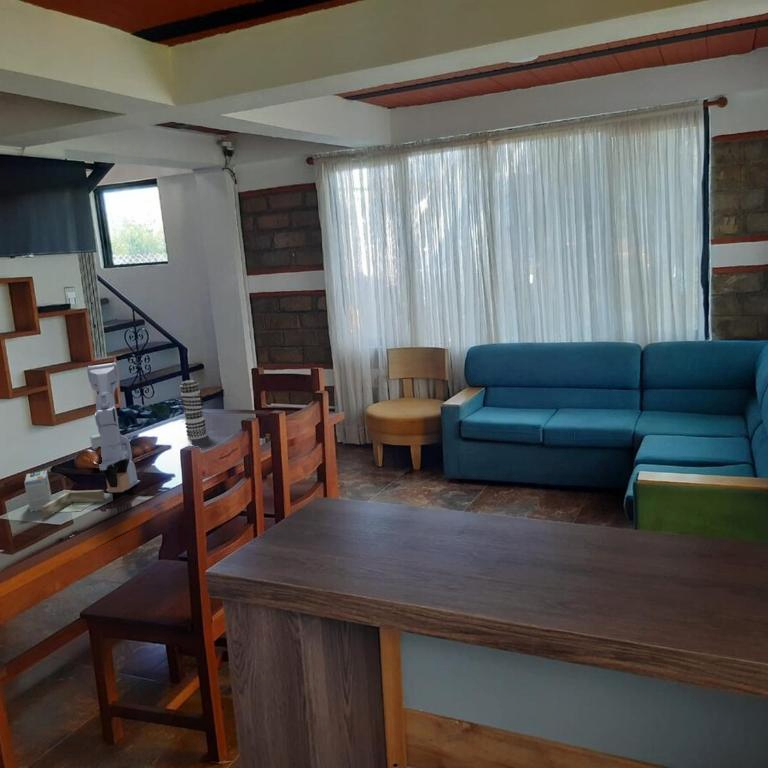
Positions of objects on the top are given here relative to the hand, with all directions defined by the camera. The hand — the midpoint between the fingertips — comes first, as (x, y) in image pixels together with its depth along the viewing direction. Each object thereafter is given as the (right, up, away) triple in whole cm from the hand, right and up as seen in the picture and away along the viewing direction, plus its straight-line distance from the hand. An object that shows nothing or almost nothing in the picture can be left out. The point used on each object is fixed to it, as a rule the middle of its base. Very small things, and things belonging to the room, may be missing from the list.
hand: (118, 484), depth 247 cm
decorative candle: (+6, +10, +81) cm, 82 cm away
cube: (0, -2, 0) cm, 2 cm away
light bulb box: (-28, -8, +6) cm, 30 cm away
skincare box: (-24, +1, +51) cm, 56 cm away
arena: (-14, -8, 0) cm, 16 cm away
